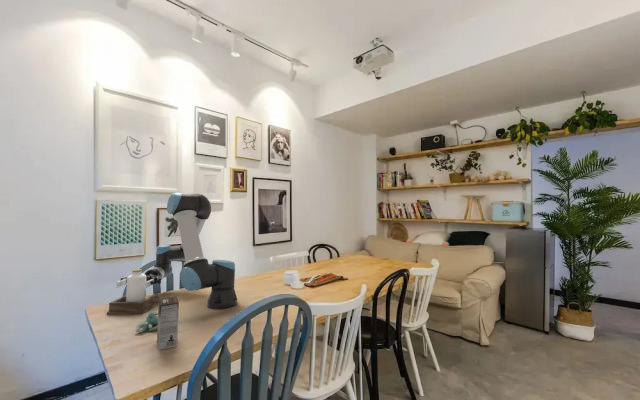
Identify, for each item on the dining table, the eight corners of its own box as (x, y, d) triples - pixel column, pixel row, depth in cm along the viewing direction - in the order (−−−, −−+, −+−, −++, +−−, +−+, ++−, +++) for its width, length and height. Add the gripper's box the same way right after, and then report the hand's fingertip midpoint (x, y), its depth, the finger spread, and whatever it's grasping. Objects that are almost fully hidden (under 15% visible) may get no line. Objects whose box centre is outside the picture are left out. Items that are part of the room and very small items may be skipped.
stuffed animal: (125, 320, 114) (149, 305, 125) (127, 336, 115) (151, 320, 126) (147, 323, 111) (170, 307, 123) (149, 339, 112) (171, 322, 124)
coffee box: (156, 340, 108) (158, 298, 109) (175, 336, 112) (176, 295, 112) (157, 350, 100) (159, 304, 101) (177, 346, 104) (179, 302, 104)
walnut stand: (127, 303, 150) (128, 293, 150) (158, 303, 151) (159, 293, 151) (106, 314, 134) (107, 303, 134) (141, 314, 135) (142, 303, 135)
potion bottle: (136, 309, 137) (137, 271, 138) (121, 308, 139) (123, 271, 140) (149, 303, 146) (150, 268, 147) (135, 303, 147) (136, 268, 148)
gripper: (176, 281, 161) (157, 292, 140) (131, 281, 160) (104, 292, 138) (177, 268, 162) (158, 277, 140) (131, 268, 160) (105, 277, 139)
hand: (131, 284), depth 139 cm, fingers open, 13 cm apart
